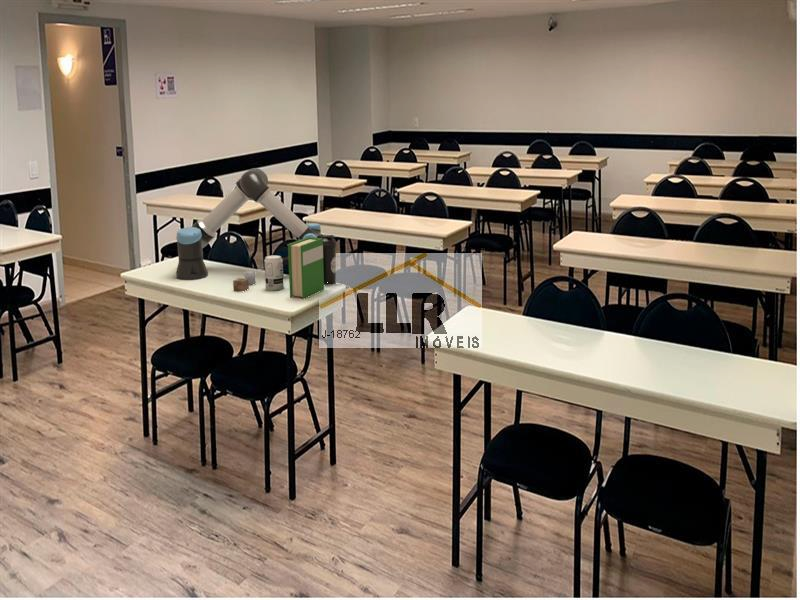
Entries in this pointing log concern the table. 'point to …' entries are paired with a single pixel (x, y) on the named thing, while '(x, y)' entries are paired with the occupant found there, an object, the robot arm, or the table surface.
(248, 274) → the grey plastic tub
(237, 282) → the walnut block
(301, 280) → the hardback book
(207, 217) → the robot arm
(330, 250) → the water bottle
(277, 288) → the supplement can
